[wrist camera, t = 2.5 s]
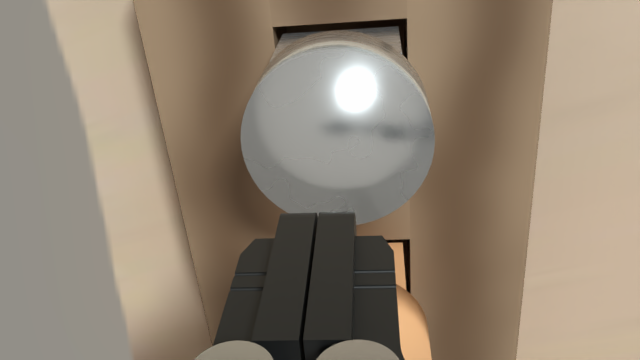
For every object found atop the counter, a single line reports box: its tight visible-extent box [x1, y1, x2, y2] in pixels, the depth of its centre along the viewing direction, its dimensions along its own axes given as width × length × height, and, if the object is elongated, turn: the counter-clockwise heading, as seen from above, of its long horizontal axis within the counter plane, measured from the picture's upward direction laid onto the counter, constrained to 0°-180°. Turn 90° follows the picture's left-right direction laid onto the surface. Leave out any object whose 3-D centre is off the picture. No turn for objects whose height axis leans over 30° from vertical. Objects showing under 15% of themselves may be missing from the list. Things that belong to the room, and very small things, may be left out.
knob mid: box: [388, 243, 432, 360], centre depth 24 cm, size 6×6×5 cm
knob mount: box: [133, 0, 553, 360], centre depth 27 cm, size 14×28×4 cm, turn 5°
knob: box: [241, 26, 435, 225], centre depth 19 cm, size 6×6×5 cm
